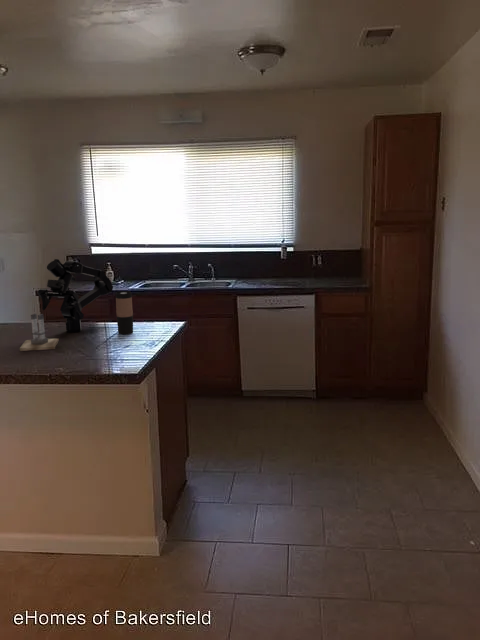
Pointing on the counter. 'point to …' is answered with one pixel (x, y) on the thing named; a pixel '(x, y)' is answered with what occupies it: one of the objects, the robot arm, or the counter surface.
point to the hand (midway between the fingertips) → (52, 310)
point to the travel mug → (124, 312)
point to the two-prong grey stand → (41, 339)
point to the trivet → (49, 345)
